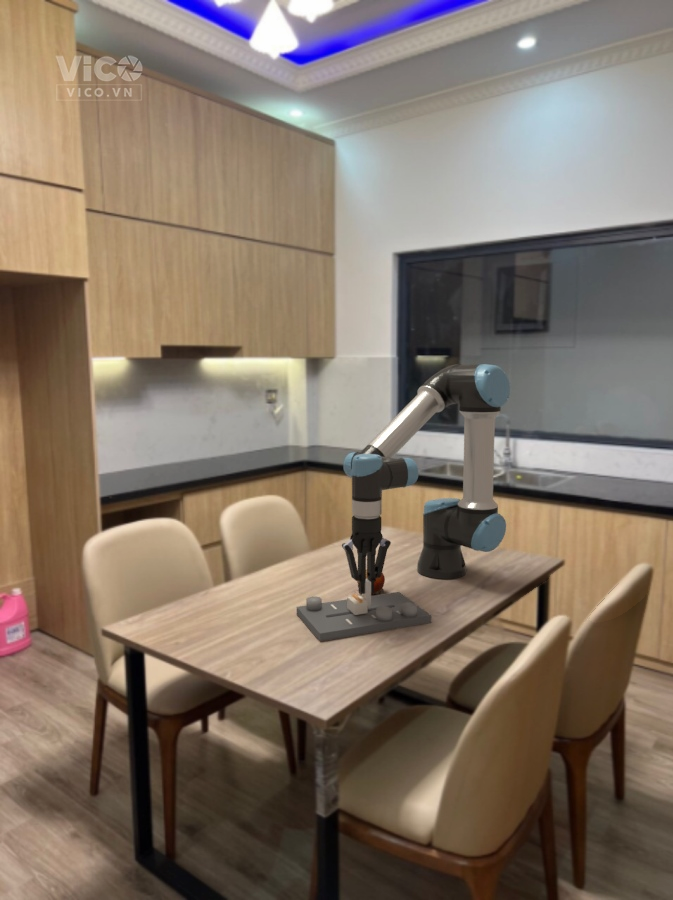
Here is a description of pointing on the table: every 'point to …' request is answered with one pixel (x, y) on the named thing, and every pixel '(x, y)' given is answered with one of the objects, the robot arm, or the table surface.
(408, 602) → the console
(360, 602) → the fader
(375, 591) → the fruit
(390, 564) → the table surface
